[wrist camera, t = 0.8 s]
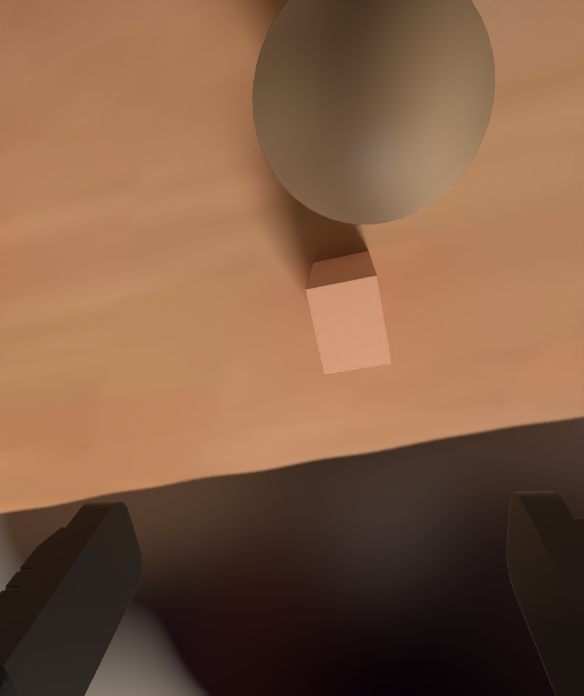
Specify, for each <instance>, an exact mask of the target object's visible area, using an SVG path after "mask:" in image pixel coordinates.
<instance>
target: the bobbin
mask: <svg viewBox="0 0 584 696" xmlns="http://www.w3.org/2000/svg"><path fill="white" fill-rule="evenodd" d="M494 89H495V68H494V60H493V52H492V48H491V44H490V40H489V36H488V33H487V31H486V28H485V26H484V23H483V21H482V18H481V16H480V14H479V13H478V11H477V9H476V8H475V6H474V4H473V3H472V1H471V0H288V2H287V3H286V4H285V6H284V7H283V8H282V10H281V11H280V12H279V14H278V15H277V17H276V19H275V20H274V22H273V24H272V26H271V27H270V29H269V31H268V33H267V36H266V38H265V40H264V43H263V45H262V48H261V51H260V55H259V58H258V61H257V65H256V71H255V76H254V83H253V116H254V122H255V128H256V133H257V136H258V140H259V143H260V147H261V149H262V152H263V154H264V156H265V159H266V161H267V163H268V165H269V166H270V168H271V170H272V171H273V173H274V175H275V176H276V178H277V179H278V180H279V182H280V183H281V184H282V185H283V187H284V188H285V189H286V190H287V191H288V192H289V193H290V194H291V195H292V196H293V197H294V198H295V199H296V200H298V201H299V202H300V203H302V204H303V205H304V206H306V207H307V208H309V209H311V210H312V211H314V212H316V213H318V214H320V215H322V216H325V217H327V218H330V219H332V220H336V221H340V222H344V223H351V224H378V223H385V222H390V221H394V220H397V219H401V218H404V217H406V216H408V215H411V214H413V213H415V212H417V211H419V210H421V209H422V208H424V207H426V206H428V205H429V204H431V203H432V202H433V201H435V200H436V199H437V198H439V197H440V196H441V195H443V194H444V193H445V192H446V191H447V190H448V189H449V188H450V187H451V186H452V185H453V184H454V183H455V182H456V181H457V179H458V178H459V177H460V176H461V175H462V173H463V172H464V171H465V170H466V168H467V167H468V165H469V163H470V162H471V160H472V159H473V157H474V156H475V154H476V152H477V150H478V148H479V146H480V144H481V142H482V140H483V137H484V134H485V131H486V129H487V126H488V123H489V119H490V115H491V110H492V106H493V98H494Z"/></svg>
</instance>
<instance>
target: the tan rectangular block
mask: <svg viewBox="0 0 584 696" xmlns="http://www.w3.org/2000/svg"><path fill="white" fill-rule="evenodd" d="M306 294H307V298H308V303H309V307H310V312H311V316H312V321H313V325H314V330H315V334H316V339H317V343H318V348H319V352H320V357H321V361H322V366H323V370H324V374H330V373H336V372H342V371H348V370H354V369H360V368H366V367H372V366H378V365H384V364H390V363H391V359H390V353H389V347H388V341H387V335H386V329H385V323H384V317H383V311H382V305H381V299H380V293H379V287H378V281H377V275H376V272H375V269H374V266H373V263H372V260H371V257H370V254H369V251H365V252H361V253H356V254H351V255H346V256H342V257H337V258H332V259H327V260H323V261H318V262H313V265H312V269H311V272H310V276H309V279H308V283H307V287H306Z"/></svg>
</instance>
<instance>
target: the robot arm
mask: <svg viewBox="0 0 584 696" xmlns="http://www.w3.org/2000/svg"><path fill="white" fill-rule="evenodd" d="M507 536H508V537H507V552H506V555H507V565H508V571H509V576H510V580H511V583H512V586H513V589H514V592H515V594H516V597H517V599H518V602H519V604H520V607H521V609H522V612H523V614H524V617H525V619H526V622H527V624H528V627H529V629H530V632H531V634H532V637H533V640H534V642H535V645H536V647H537V650H538V652H539V655H540V657H541V659H542V662H543V664H544V667H545V670H546V672H547V675H548V677H549V680H550V682H551V685H552V687H553V690H554V692H555V695H556V696H584V519H576V520H575V519H574V517H573V515H572V514H571V512H570V511H569V509H568V508H567V507H566V505H565V503H564V502H563V500H562V499H561V497H560V496H559V495H558V494H557V493H556V492H555V491H536V492H513V493H512V494H511V496H510V502H509V518H508V535H507ZM142 567H143V560H142V554H141V550H140V547H139V544H138V540H137V537H136V534H135V531H134V527H133V524H132V521H131V518H130V514H129V511H128V508H127V506H126V505H125V504H124V503H123V502H120V501H118V502H89V503H86V504H85V505H83V506H82V507H81V508H80V510H79V511H78V513H77V514H76V515H75V516H74V518H73V519H72V520H71V521H70V523H69V524H68V525H67V527H65V528H64V527H63V528H60V529H59V530H58V531H56V532H55V533H54V534H53V535H51V536H50V537H49V538H48V539H47V540H45V541H44V542H42V543H41V544H40V545H39V546H38V547H37V548H36V549H35V550H34V551H33V553H32V554H31V555H30V557H29V558H28V559H27V560H26V561H25V563H24V564H23V565H22V566H21V570H20V572H17V573H16V574H15V575H14V576H13V578H12V579H11V580H10V581H9V583H8V584H7V585H6V589H5V591H1V593H0V696H84V695H85V693H86V691H87V689H88V687H89V685H90V683H91V681H92V679H93V677H94V675H95V673H96V671H97V669H98V667H99V665H100V663H101V661H102V658H103V657H104V654H105V653H106V651H107V648H108V646H109V644H110V642H111V640H112V638H113V636H114V634H115V632H116V630H117V628H118V626H119V624H120V622H121V620H122V618H123V616H124V614H125V612H126V610H127V608H128V606H129V604H130V602H131V600H132V597H133V595H134V593H135V591H136V589H137V587H138V585H139V582H140V579H141V574H142Z"/></svg>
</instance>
